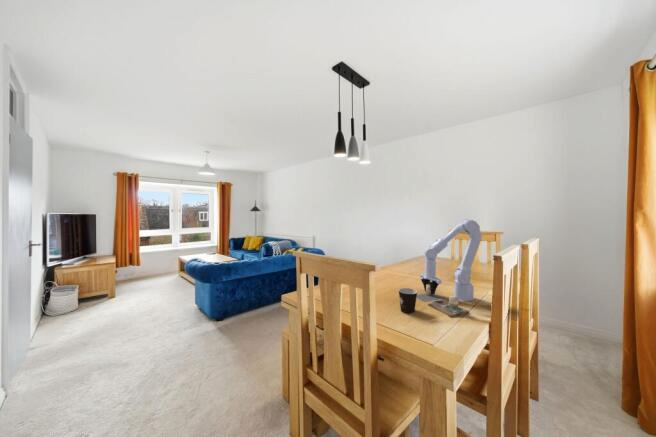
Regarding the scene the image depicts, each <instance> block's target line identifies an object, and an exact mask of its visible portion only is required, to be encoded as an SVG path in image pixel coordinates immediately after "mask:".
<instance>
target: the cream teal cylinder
mask: <svg viewBox="0 0 656 437" xmlns="http://www.w3.org/2000/svg"><path fill="white" fill-rule="evenodd" d="M452 296H453V295H450V296H449V297H448V302H449V309H451V310H453V311H457V310H458V307H459V300H458V298H457V297H452Z"/></svg>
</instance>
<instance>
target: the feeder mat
mask: <svg viewBox="0 0 656 437" xmlns="http://www.w3.org/2000/svg"><path fill="white" fill-rule="evenodd" d="M416 299H418V300H420V301H422V302H424V303H427V302H432V301H435V300H441V299H442V300H445V297H443V296H440V295H438V294H436V293H435V294H434V296H427V295H426V292H425V293H420V294H418V293H417V297H416Z"/></svg>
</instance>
